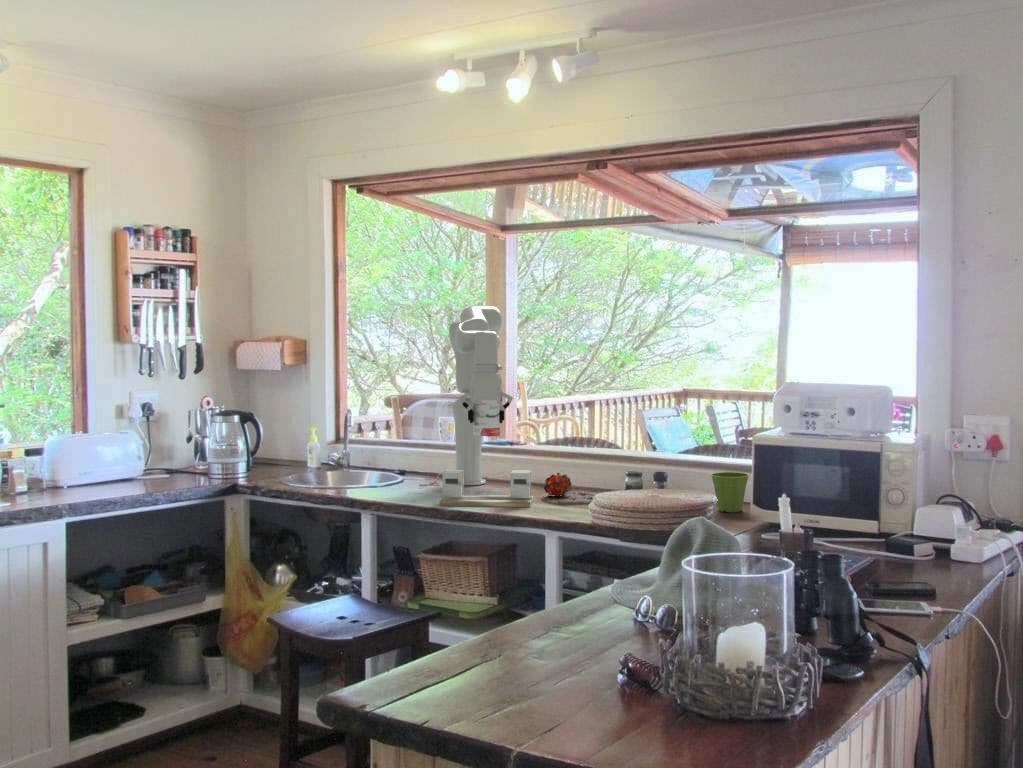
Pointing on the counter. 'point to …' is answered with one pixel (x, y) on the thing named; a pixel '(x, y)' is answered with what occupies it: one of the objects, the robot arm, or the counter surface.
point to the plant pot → (730, 490)
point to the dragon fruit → (557, 484)
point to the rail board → (456, 497)
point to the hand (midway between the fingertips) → (486, 422)
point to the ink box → (486, 418)
